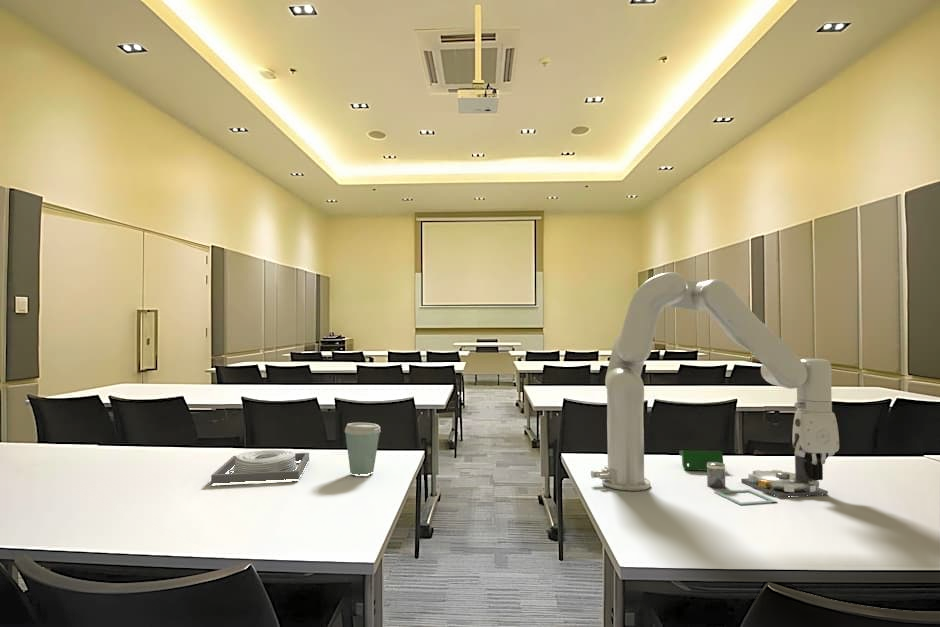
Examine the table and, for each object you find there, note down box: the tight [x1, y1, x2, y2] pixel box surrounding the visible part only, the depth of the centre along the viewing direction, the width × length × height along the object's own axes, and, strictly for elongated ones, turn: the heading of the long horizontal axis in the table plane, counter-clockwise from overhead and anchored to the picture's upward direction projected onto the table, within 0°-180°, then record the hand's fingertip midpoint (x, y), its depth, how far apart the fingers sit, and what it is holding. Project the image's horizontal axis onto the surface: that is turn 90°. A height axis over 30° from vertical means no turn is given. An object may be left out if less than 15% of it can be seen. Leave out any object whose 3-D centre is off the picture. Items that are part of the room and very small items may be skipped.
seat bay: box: [714, 489, 778, 506], centre depth 134 cm, size 10×10×1 cm
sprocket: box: [747, 454, 820, 492], centre depth 142 cm, size 16×16×8 cm
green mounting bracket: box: [678, 449, 724, 471], centre depth 162 cm, size 12×6×9 cm, turn 76°
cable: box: [229, 449, 298, 474], centre depth 160 cm, size 18×18×6 cm
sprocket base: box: [741, 477, 829, 498], centre depth 142 cm, size 14×14×1 cm
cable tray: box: [210, 452, 310, 485], centre depth 159 cm, size 23×23×3 cm
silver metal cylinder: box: [706, 462, 726, 490], centre depth 144 cm, size 4×4×6 cm
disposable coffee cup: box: [344, 422, 381, 475], centre depth 158 cm, size 11×11×15 cm
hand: (815, 478), depth 137 cm, fingers closed
